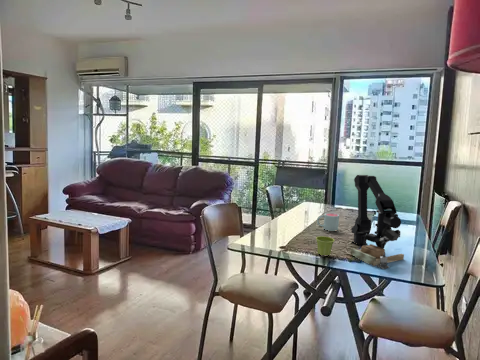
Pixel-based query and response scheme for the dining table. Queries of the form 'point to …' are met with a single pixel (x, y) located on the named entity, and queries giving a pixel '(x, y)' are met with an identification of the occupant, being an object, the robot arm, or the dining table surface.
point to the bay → (373, 260)
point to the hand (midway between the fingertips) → (380, 252)
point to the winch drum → (383, 262)
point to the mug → (330, 221)
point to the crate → (373, 250)
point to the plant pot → (324, 245)
